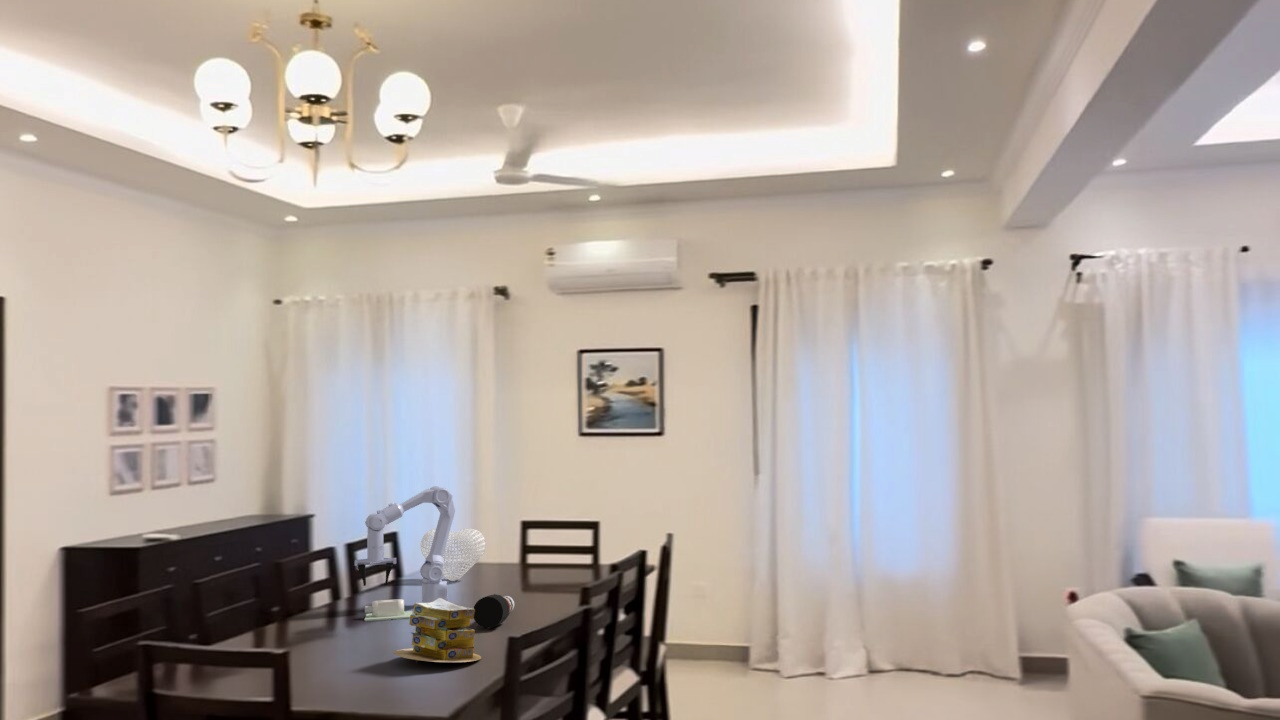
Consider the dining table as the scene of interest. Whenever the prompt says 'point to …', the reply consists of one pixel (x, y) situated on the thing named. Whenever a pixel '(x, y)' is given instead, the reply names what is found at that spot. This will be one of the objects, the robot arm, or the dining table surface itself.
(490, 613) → the dark bottle
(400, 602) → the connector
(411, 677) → the dining table surface
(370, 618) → the mat
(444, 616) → the stacked yellow boxes
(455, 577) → the heart
